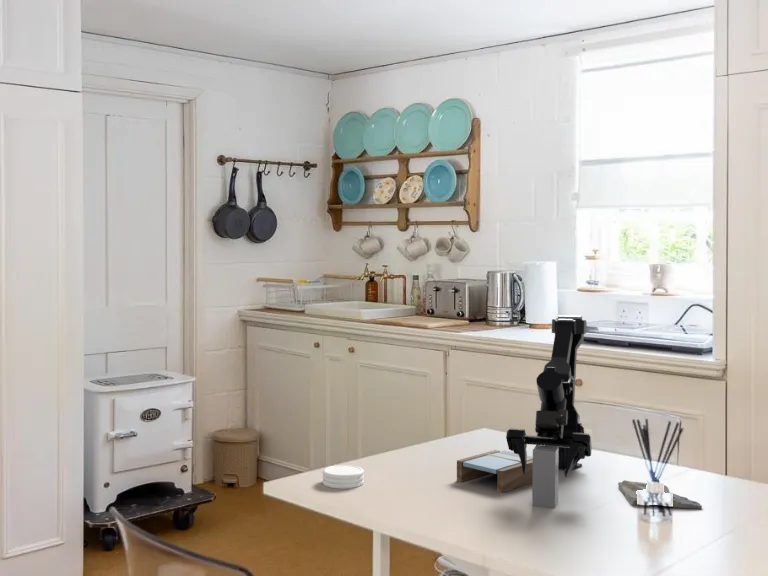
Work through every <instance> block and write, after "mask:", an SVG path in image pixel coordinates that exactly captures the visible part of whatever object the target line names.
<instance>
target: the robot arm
mask: <svg viewBox="0 0 768 576" xmlns="http://www.w3.org/2000/svg"><path fill="white" fill-rule="evenodd" d="M587 326H588V325H587V320H585V319H583V316H582V315H562V314H561V315H560V314H559V315H557V318H554V319H551V334H554V338H553V346H552V352H551V358H550V360H549V361H548V362H547V363H545V364H544V368H543V371H542V372H541V373H539V374H538V376H537V377H536V386H537V387H536V388H537V392H538V397H539V400H540V401H541V403H540V408H539V409H540V410H536V411H535V412H536V413H535V427H534V431H535V433H536V435H531V434H530V435H529V434H526V429H524V428H513V427H511V428H509V429H508V430H507V431H506V436H505V437H506V438H505V439H506V443H507V447H508V450H509V451H510V452H511V451H512V452H513V453H515V454H518V455H519V457H520V460H521V464H522V469H523V474H525V473H526V462H527V456H528V453H527V446H528V445H534V446H536V445H544V446H557V447H559V458H558V469H560V470H561V469H562V470H564V478H567V477H569V474H571V472H572V471H573V470H574V469H578V468H580V467H583V463H579V461H580V460H584V459H586V457H587V458H588V457H591V456H592V450H593V449H592V446H593V445H592V437H591V435H590V434H589V433H587V432H585V427H583V423H582V421H580V419H581V418H580V414H579V412H578V411H577V409H576V407H575V396H576V395H575V394H576V382H577V381H576V375H577V358H578V357H577V356H578V355H577V354H578V353H577V352H578V349H579V348H580V346H581V345H582V344H583V342H584V337H585V335H586V334H587V328H588V327H587Z"/></svg>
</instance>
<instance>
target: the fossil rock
mask: <svg viewBox="0 0 768 576" xmlns="http://www.w3.org/2000/svg"><path fill="white" fill-rule="evenodd" d="M646 485H647V482H646V483H645V482H639V481H631V480H625V479H624V480H622V481H620V482H619V481H618V489H619V491H620V492H621V493H622V494H623V495H624V498H625V499H626V500H625V501H627V502H628V503H629V504H630V506H638V505H637V494H636V491H637V490H643V489H646ZM663 485H664V484H663ZM664 492H665V493H670V492H669V487H668V486H667V485H664ZM672 494H673V509H674V508H676V509H678V508H679V509H698V510H702V508H703V505H702V504H701V503H700V502H698V501H694V500H692V499H689V498H688V497H685V496H681V495H679V494H676V493H672Z"/></svg>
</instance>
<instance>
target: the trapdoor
mask: <svg viewBox="0 0 768 576" xmlns="http://www.w3.org/2000/svg"><path fill="white" fill-rule="evenodd" d="M530 460H533V456H530V455H527V461H530ZM520 463H521V460H520V457H519V455H518V454H515V453H514V451H512V452H511V451H506V450H500V452H497V453H494V454H488V455H486V456H483V457H479V458H476V459H472V460H468V461H465V462H463V466H465V467H469V468H474V469H478V470H482V471H486V472H490V474H495V475H497V472H498V470H499V469H503V468H506V467H509V466H513V465H516V464H520Z"/></svg>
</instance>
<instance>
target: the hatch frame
mask: <svg viewBox="0 0 768 576" xmlns="http://www.w3.org/2000/svg"><path fill="white" fill-rule="evenodd" d="M497 452H501V450H497V449H494V450H490V451H486V452H482V453H479V454H475V455H472V456H468V457H465V458H461V459H457V460H456V481H457V482H459V483H460V482H461V483H463V482H466V481H469V480H472V479H476V478H479V477H482V476H485V475H489V474H491V473H490V472H486V471H482V470H478V469H474V468H469V467H465V466H463V462H465V461H468V460H472V459H476V458H479V457H483V456H486V455H488V454H494V453H497ZM496 475H497V483H496V484H497V489H496V490H497V492H499V493H504V492H508V491H511V490H513V489H517V488H520V487H523V486H526V485H529V484H532V477H533V460H530V461H527V462H526V473H525V474H523V469H522V464H521V463H520V464H516V465H513V466H509V467H506V468H503V469H499V470H498V472H497V474H496Z"/></svg>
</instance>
